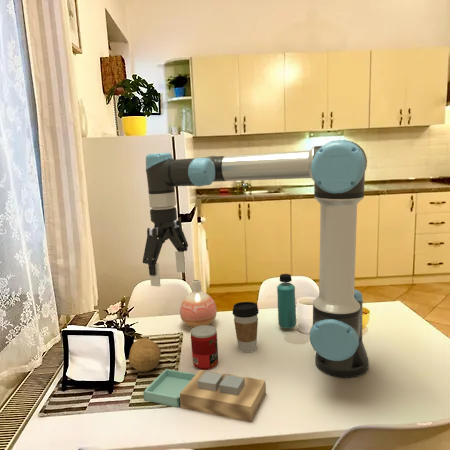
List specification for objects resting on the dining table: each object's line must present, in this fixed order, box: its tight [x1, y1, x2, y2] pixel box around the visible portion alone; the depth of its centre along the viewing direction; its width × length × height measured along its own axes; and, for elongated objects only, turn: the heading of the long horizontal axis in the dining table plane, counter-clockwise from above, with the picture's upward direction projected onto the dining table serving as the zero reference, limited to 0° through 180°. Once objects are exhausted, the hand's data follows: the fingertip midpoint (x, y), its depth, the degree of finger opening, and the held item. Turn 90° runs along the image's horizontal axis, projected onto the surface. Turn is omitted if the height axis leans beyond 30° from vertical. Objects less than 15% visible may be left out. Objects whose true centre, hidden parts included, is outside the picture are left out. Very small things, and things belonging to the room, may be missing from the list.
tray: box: [142, 368, 197, 408], centre depth 113 cm, size 10×12×2 cm
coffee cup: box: [232, 301, 260, 353], centre depth 134 cm, size 8×8×15 cm
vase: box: [179, 278, 218, 329], centre depth 153 cm, size 14×14×18 cm
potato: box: [128, 337, 162, 373], centre depth 126 cm, size 10×14×8 cm
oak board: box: [180, 369, 267, 423], centre depth 107 cm, size 19×12×4 cm, turn 68°
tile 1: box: [198, 370, 223, 391], centre depth 108 cm, size 5×5×2 cm
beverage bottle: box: [276, 273, 297, 329], centre depth 147 cm, size 6×7×20 cm
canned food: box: [190, 324, 219, 371], centre depth 126 cm, size 8×8×11 cm
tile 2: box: [219, 374, 245, 395], centre depth 106 cm, size 5×5×2 cm
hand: (169, 278), depth 123 cm, fingers open, 13 cm apart
